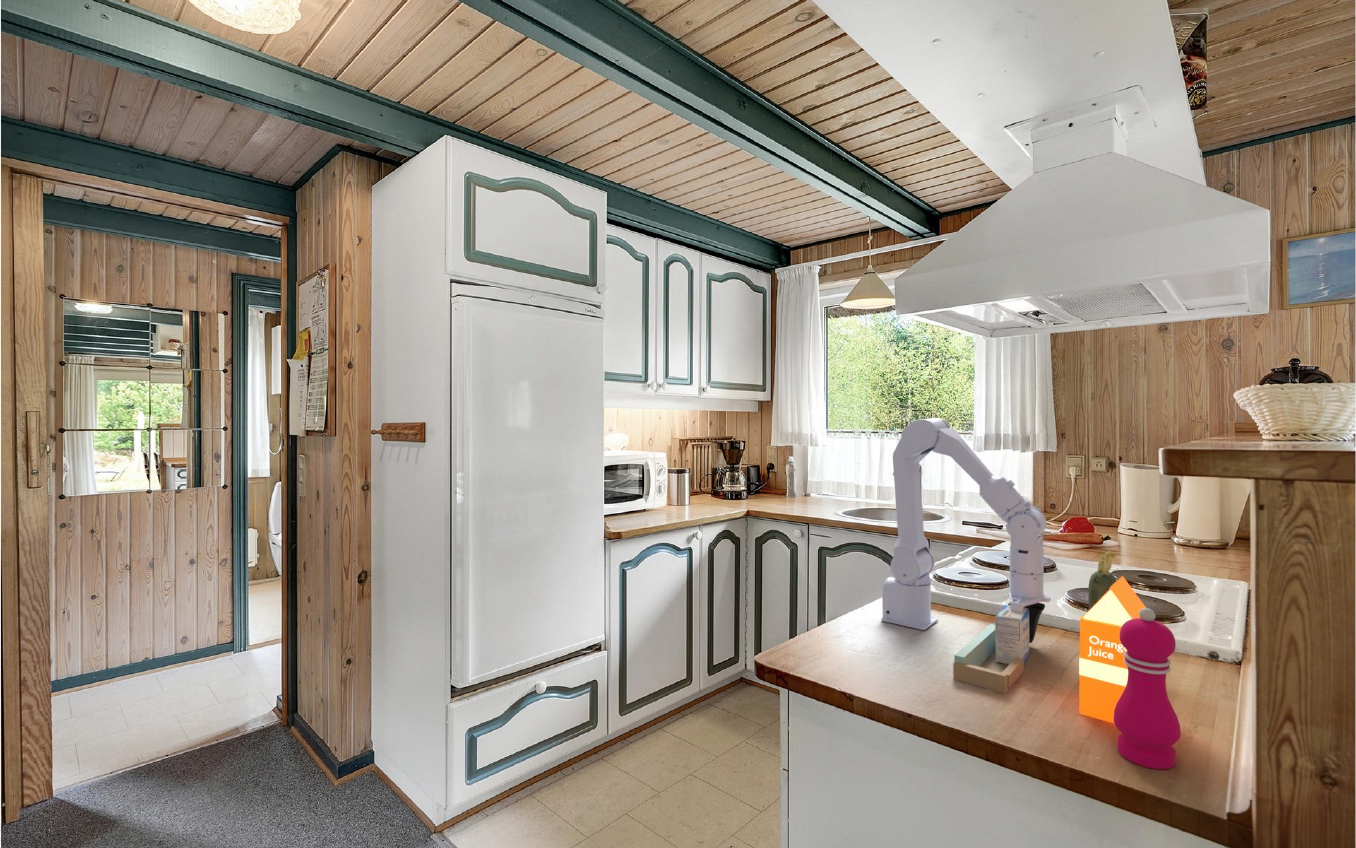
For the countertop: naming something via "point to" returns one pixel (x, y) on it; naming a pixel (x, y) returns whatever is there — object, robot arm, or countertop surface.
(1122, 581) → the orange juice
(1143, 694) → the pepper mill
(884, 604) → the robot arm
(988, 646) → the board
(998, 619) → the medicine box
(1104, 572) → the vegetable
